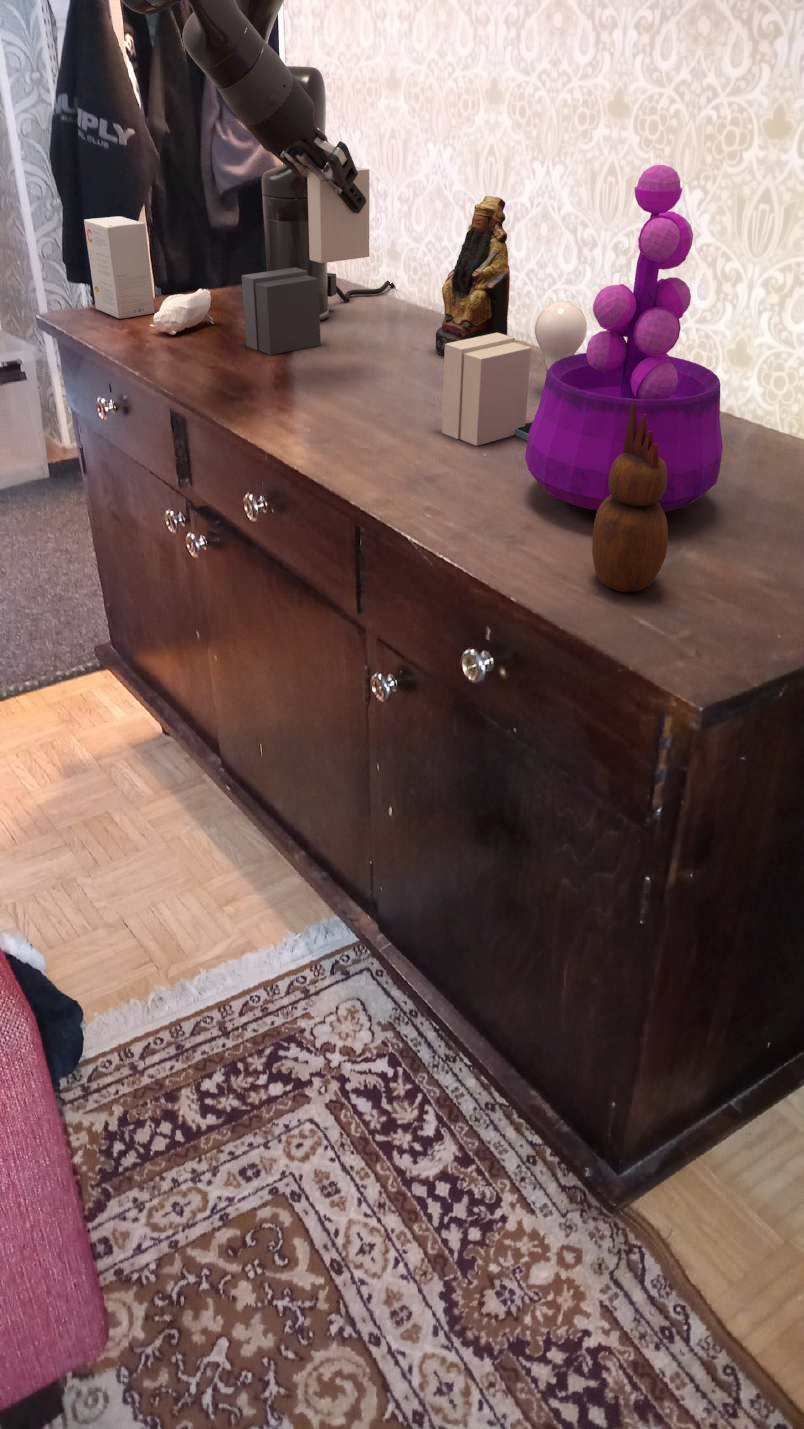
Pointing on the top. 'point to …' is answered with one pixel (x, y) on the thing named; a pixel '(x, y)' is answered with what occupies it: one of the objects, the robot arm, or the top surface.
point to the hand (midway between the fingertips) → (352, 205)
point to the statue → (478, 280)
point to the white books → (485, 388)
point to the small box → (119, 266)
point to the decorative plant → (632, 377)
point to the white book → (337, 221)
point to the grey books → (281, 310)
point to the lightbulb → (560, 331)
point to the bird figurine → (183, 311)
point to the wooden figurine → (632, 514)
